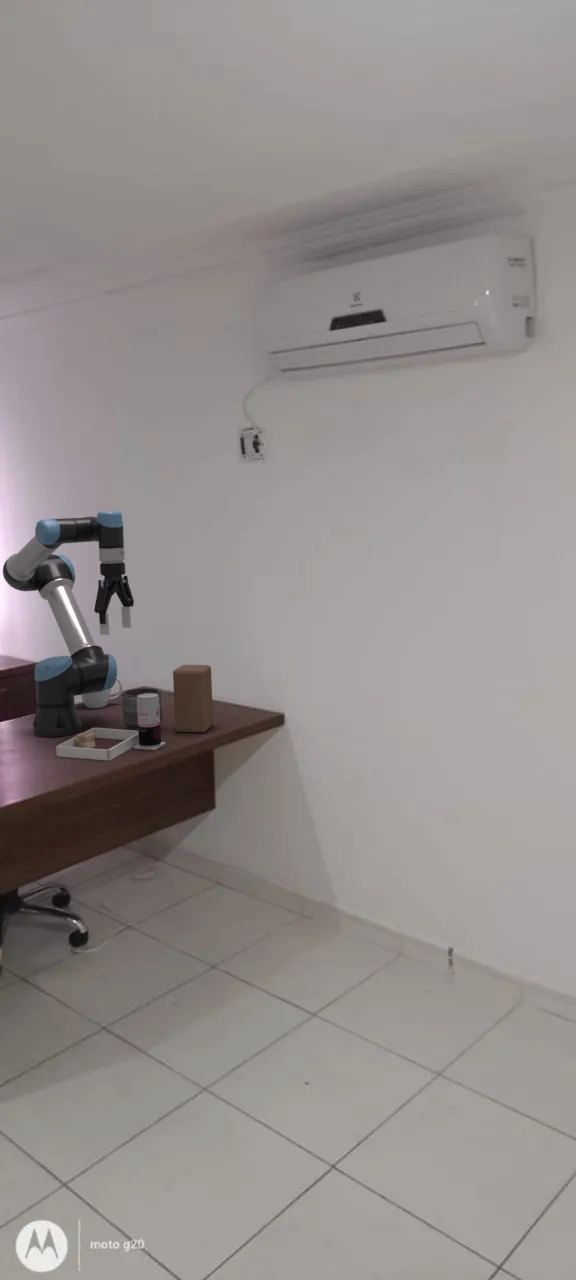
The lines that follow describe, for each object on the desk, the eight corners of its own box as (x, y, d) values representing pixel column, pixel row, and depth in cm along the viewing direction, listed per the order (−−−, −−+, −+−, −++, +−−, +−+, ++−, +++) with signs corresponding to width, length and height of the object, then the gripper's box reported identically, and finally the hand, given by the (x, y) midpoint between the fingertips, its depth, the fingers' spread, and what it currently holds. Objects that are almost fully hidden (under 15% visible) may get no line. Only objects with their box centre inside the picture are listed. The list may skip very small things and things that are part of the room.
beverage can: (152, 740, 281) (149, 692, 279) (165, 744, 277) (163, 695, 274) (134, 744, 276) (132, 695, 274) (148, 748, 272) (145, 699, 269)
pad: (133, 748, 274) (133, 746, 274) (145, 741, 281) (144, 740, 281) (155, 749, 272) (155, 748, 272) (165, 743, 279) (165, 742, 279)
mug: (122, 701, 335) (120, 665, 333) (124, 708, 324) (122, 671, 322) (80, 704, 332) (78, 668, 330) (80, 711, 321) (78, 674, 319)
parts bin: (56, 756, 268) (55, 746, 268) (94, 737, 288) (93, 727, 287) (109, 760, 262) (108, 750, 262) (144, 740, 282) (143, 731, 282)
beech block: (76, 748, 276) (75, 735, 275) (83, 745, 279) (83, 732, 279) (87, 749, 274) (86, 736, 274) (95, 746, 278) (94, 733, 277)
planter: (170, 728, 296) (168, 689, 294) (146, 737, 285) (144, 697, 283) (140, 724, 302) (138, 685, 300) (116, 733, 292) (113, 693, 289)
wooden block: (205, 733, 289) (202, 670, 285) (174, 732, 291) (171, 670, 287) (214, 725, 298) (211, 664, 295) (184, 724, 300) (181, 664, 297)
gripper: (102, 565, 269) (106, 637, 272) (142, 558, 292) (145, 625, 296) (79, 565, 271) (84, 637, 275) (121, 558, 294) (125, 624, 298)
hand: (116, 631), depth 285 cm, fingers open, 13 cm apart
